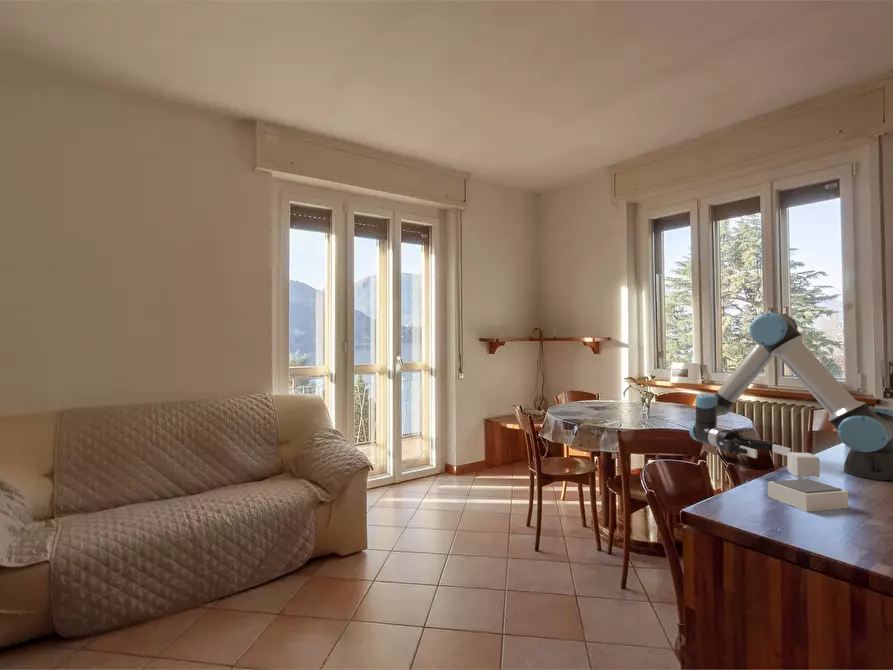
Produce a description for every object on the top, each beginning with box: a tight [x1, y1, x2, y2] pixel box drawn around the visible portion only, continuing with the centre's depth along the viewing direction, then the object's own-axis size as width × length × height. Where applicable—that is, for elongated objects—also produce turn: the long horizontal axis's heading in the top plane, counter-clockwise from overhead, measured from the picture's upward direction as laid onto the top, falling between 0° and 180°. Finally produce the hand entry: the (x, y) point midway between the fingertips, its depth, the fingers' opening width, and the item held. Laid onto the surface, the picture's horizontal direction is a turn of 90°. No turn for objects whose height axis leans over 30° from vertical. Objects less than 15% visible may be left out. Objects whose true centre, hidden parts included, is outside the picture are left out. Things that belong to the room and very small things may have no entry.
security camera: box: [785, 451, 821, 480], centre depth 150 cm, size 6×7×10 cm
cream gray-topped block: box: [767, 478, 849, 513], centre depth 135 cm, size 14×12×5 cm
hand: (773, 453), depth 160 cm, fingers open, 13 cm apart
